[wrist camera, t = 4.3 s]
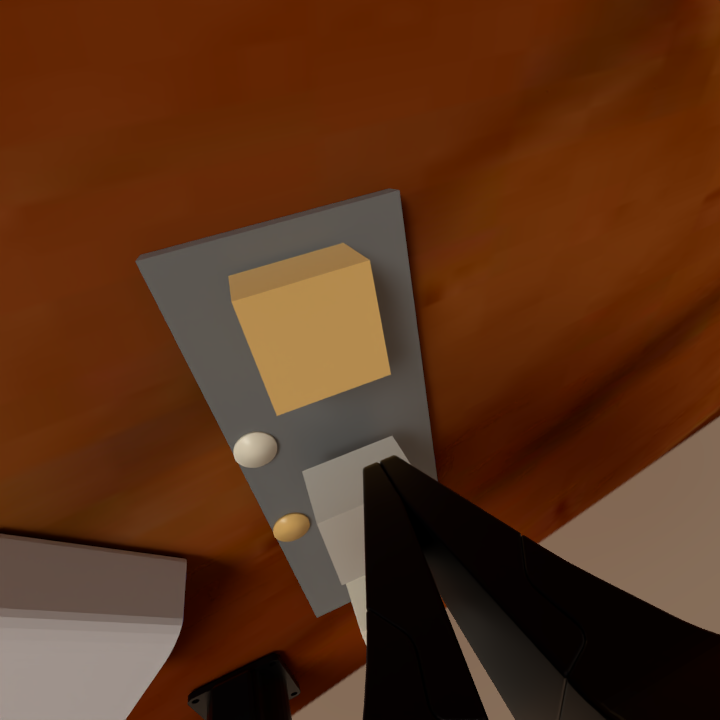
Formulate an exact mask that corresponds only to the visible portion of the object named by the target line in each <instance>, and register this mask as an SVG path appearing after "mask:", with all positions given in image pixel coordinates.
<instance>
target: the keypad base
mask: <svg viewBox="0 0 720 720" xmlns="http://www.w3.org/2000/svg"><path fill="white" fill-rule="evenodd" d="M341 243H345V244H346V245H348V246H349V247H351V248H352V249H354V250H355V251H357V252H358V253H360V254H361V255H363V256H364V257H366V258H367V259H369V260H370V264H371V269H372V274H373V280H374V285H375V291H376V296H377V302H378V307H379V312H380V318H381V323H382V329H383V334H384V339H385V345H386V350H387V356H388V361H389V366H390V372H391V375H388V376H385V377H383V378H380V379H377V380H374V381H372V382H369V383H366V384H363V385H361V386H358V387H355V388H352V389H350V390H347V391H344V392H341V393H339V394H336V395H333V396H330V397H328V398H325V399H322V400H319V401H317V402H314V403H311V404H308V405H306V406H303V407H300V408H297V409H295V410H292V411H289V412H286V413H284V414H281V415H278V416H277V415H276V412H275V410H274V407H273V405H272V402H271V400H270V397H269V395H268V392H267V390H266V387H265V385H264V382H263V380H262V377H261V375H260V372H259V370H258V367H257V365H256V362H255V360H254V357H253V355H252V352H251V350H250V347H249V345H248V342H247V340H246V337H245V335H244V332H243V330H242V327H241V325H240V322H239V320H238V317H237V315H236V312H235V310H234V307H233V305H232V302H231V295H230V286H229V278H228V276H230V275H233V274H237V273H240V272H244V271H247V270H251V269H254V268H258V267H261V266H264V265H268V264H271V263H275V262H278V261H282V260H285V259H289V258H292V257H296V256H299V255H303V254H306V253H310V252H313V251H316V250H320V249H323V248H327V247H330V246H334V245H337V244H341ZM135 262H136V263H137V265H138V267H139V269H140V271H141V273H142V275H143V277H144V279H145V281H146V283H147V285H148V287H149V289H150V291H151V293H152V295H153V297H154V299H155V301H156V303H157V305H158V307H159V309H160V311H161V313H162V315H163V316H164V318H165V320H166V322H167V324H168V326H169V328H170V330H171V332H172V334H173V336H174V338H175V340H176V342H177V344H178V346H179V348H180V350H181V352H182V354H183V356H184V358H185V360H186V362H187V364H188V366H189V368H190V369H191V371H192V373H193V375H194V377H195V379H196V381H197V383H198V385H199V387H200V389H201V391H202V393H203V395H204V397H205V399H206V401H207V403H208V405H209V407H210V409H211V411H212V413H213V415H214V417H215V419H216V421H217V422H218V424H219V426H220V428H221V430H222V432H223V434H224V436H225V438H226V440H227V442H228V444H229V446H230V448H231V450H232V452H233V454H234V458H235V460H236V461H237V463H238V464H239V466H240V468H241V470H242V472H243V474H244V475H245V477H246V479H247V481H248V483H249V485H250V487H251V489H252V491H253V493H254V495H255V497H256V499H257V501H258V503H259V505H260V507H261V509H262V511H263V513H264V515H265V517H266V519H267V521H268V523H269V525H270V527H271V528H272V530H273V533H274V536H275V538H276V539H277V540H278V542H279V544H280V546H281V548H282V550H283V552H284V554H285V556H286V558H287V560H288V562H289V564H290V566H291V568H292V570H293V572H294V574H295V576H296V578H297V579H298V581H299V583H300V585H301V587H302V589H303V591H304V593H305V595H306V597H307V599H308V601H309V603H310V605H311V607H312V609H313V611H314V613H315V615H316V617H319V616H321V615H324V614H326V613H328V612H330V611H332V610H334V609H336V608H338V607H341V606H343V605H345V604H347V603H349V602H351V599H350V595H349V592H348V589H347V586H346V584H344V585H341V582H340V580H339V577H338V575H337V572H336V570H335V567H334V565H333V562H332V560H331V557H330V555H329V553H328V550H327V548H326V545H325V543H324V540H323V538H322V535H321V533H320V530H319V528H318V525H317V522H316V519H315V515H314V512H313V508H312V505H311V501H310V498H309V494H308V491H307V487H306V483H305V480H304V476H303V473H302V471H304V470H307V469H309V468H312V467H314V466H317V465H319V464H322V463H324V462H327V461H329V460H332V459H334V458H337V457H339V456H342V455H345V454H347V453H350V452H352V451H355V450H357V449H360V448H362V447H365V446H367V445H370V444H372V443H375V442H377V441H380V440H382V439H385V438H387V437H390V436H393V438H394V439H395V441H396V442H397V444H398V445H399V447H400V448H401V450H402V452H403V453H404V455H405V456H406V458H407V459H408V461H409V462H410V464H411V465H412V466H414V467H415V468H417V469H419V470H420V471H422V472H423V473H425V474H427V475H428V476H430V477H431V478H433V479H435V480H436V481H438V480H437V473H436V465H435V457H434V450H433V442H432V435H431V427H430V419H429V412H428V404H427V397H426V389H425V381H424V374H423V366H422V359H421V351H420V343H419V336H418V328H417V321H416V313H415V305H414V298H413V290H412V283H411V275H410V267H409V260H408V252H407V245H406V237H405V229H404V222H403V214H402V207H401V199H400V191H399V190H395V189H390V188H389V189H386V190H382V191H378V192H374V193H371V194H367V195H363V196H359V197H356V198H352V199H348V200H345V201H341V202H337V203H333V204H330V205H326V206H322V207H318V208H315V209H311V210H307V211H303V212H300V213H296V214H292V215H288V216H285V217H281V218H277V219H273V220H270V221H266V222H262V223H258V224H255V225H251V226H247V227H244V228H240V229H236V230H232V231H229V232H225V233H221V234H217V235H214V236H210V237H206V238H202V239H199V240H195V241H191V242H187V243H184V244H180V245H176V246H172V247H169V248H165V249H161V250H158V251H154V252H150V253H146V254H143V255H140V256H139V257H138V259H137V260H136V261H135Z"/></svg>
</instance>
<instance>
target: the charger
mask: <svg viewBox="0 0 720 720" xmlns="http://www.w3.org/2000/svg"><path fill="white" fill-rule="evenodd" d="M186 567H187V560H186V559H184V558H177V557H169V556H162V555H155V554H147V553H140V552H133V551H125V550H118V549H111V548H103V547H96V546H89V545H81V544H74V543H67V542H59V541H52V540H45V539H37V538H30V537H23V536H15V535H8V534H1V533H0V720H125V719H126V718H127V716H128V715H129V714H130V712H131V711H132V709H133V708H134V706H135V705H136V703H137V702H138V701H139V699H140V698H141V696H142V695H143V693H144V692H145V690H146V689H147V688H148V686H149V685H150V683H151V682H152V680H153V679H154V677H155V676H156V675H157V673H158V672H159V670H160V669H161V667H162V666H163V664H164V663H165V661H166V660H167V658H168V657H169V655H170V653H171V651H172V649H173V647H174V645H175V643H176V641H177V639H178V636H179V634H180V630H181V627H182V623H183V614H184V598H185V583H186Z"/></svg>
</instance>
